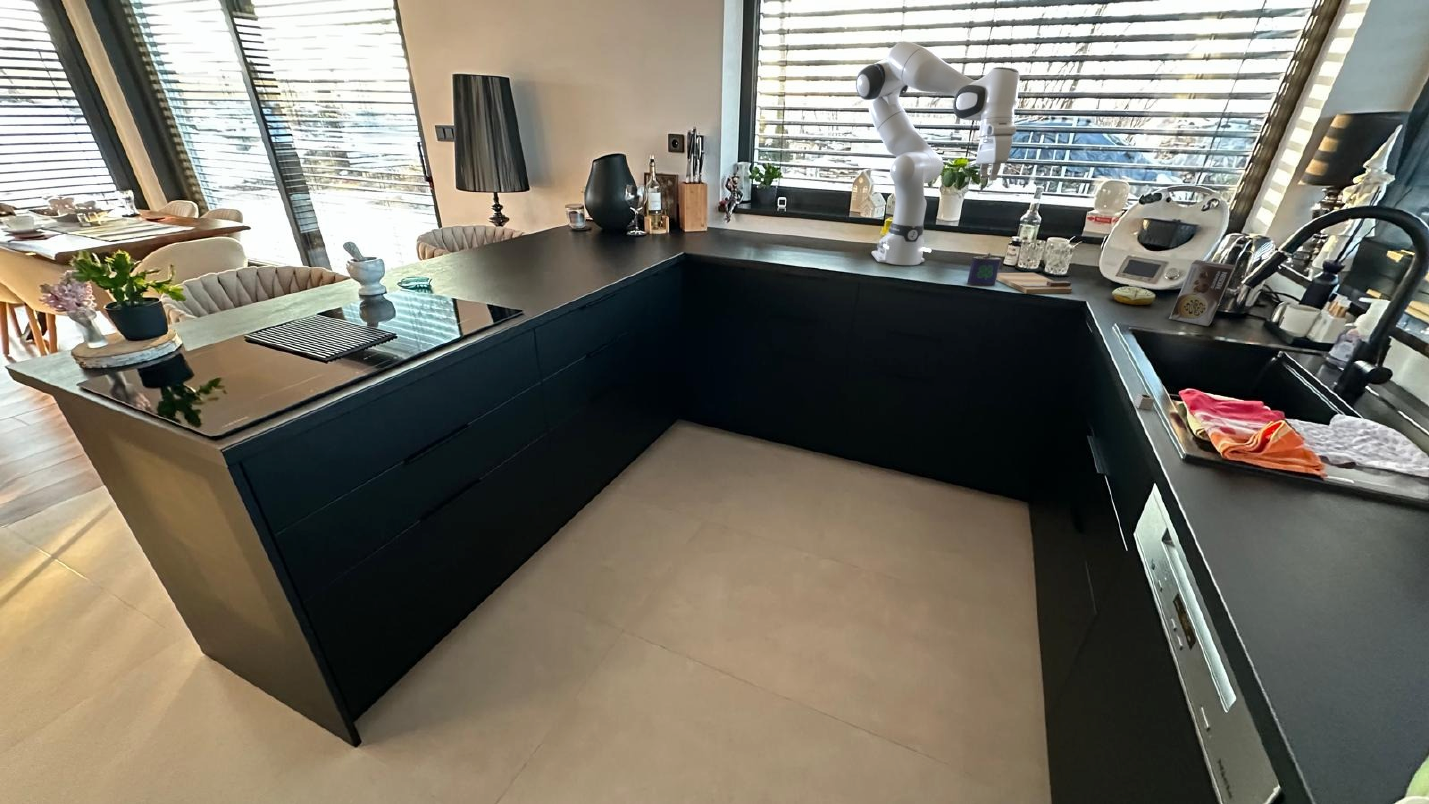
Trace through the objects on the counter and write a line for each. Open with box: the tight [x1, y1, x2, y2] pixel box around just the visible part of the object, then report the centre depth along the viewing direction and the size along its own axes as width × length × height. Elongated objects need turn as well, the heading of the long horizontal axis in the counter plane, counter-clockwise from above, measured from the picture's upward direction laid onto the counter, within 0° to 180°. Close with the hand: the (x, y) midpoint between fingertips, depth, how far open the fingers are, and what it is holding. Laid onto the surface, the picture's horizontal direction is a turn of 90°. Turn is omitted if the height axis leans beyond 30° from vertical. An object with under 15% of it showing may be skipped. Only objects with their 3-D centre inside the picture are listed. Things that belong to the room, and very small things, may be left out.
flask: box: [966, 252, 1002, 287], centre depth 185 cm, size 9×3×11 cm, turn 87°
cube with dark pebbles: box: [1133, 393, 1156, 411], centre depth 109 cm, size 2×2×2 cm
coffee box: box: [1168, 259, 1237, 327], centre depth 154 cm, size 9×6×16 cm
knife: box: [1022, 280, 1072, 287], centre depth 182 cm, size 2×16×1 cm, turn 97°
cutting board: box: [996, 272, 1073, 295], centre depth 188 cm, size 20×16×2 cm
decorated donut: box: [1111, 286, 1156, 306], centre depth 173 cm, size 10×11×4 cm
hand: (987, 180), depth 169 cm, fingers open, 8 cm apart
